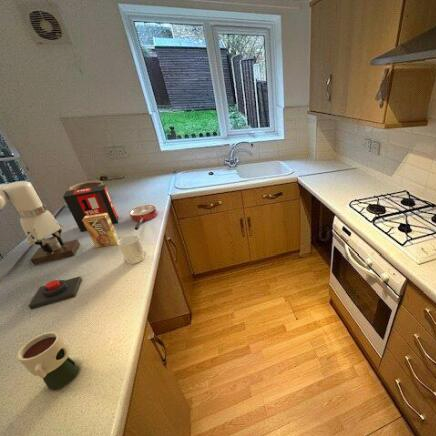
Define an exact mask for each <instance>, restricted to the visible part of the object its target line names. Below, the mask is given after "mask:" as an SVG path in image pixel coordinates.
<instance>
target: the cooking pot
mask: <svg viewBox="0 0 436 436" xmlns="http://www.w3.org/2000/svg"><path fill="white" fill-rule="evenodd" d="M103 183H104V182H103V181H102V180H90V181H84V182H79V183H76V184H74V185H71V186H69V188H68V191H71V190H77V189H83V188H89V187H95V186H101V185H104V184H103ZM106 189H107V187H106ZM107 192H108V193H109V191H108V189H107Z"/></svg>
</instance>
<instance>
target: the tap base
mask: <svg viewBox="0 0 436 436" xmlns="http://www.w3.org/2000/svg"><path fill="white" fill-rule="evenodd" d="M63 244H64V245H61V248H60V249H59V250H56V251H53V252H45V251H43V249H42V248H41V246H40V247H38V248H37V249H36V251H35V252H34V254H33V255H32V256H31V258H29V261H30V262H31V264H32V265H33V266H37V265H41V264H46V263H49V262H54V261H58V260H62V259H67V258H70V257H74V256H75V255H76V254H77V252H78V250H79V248H80V246H81V243H80V242H79V240H78V239H73V240H69V241H68V240H67V241H63Z"/></svg>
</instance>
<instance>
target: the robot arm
mask: <svg viewBox="0 0 436 436" xmlns="http://www.w3.org/2000/svg"><path fill="white" fill-rule="evenodd" d="M8 202H11V203H12V205H13V206H14V208H15V209H16V211H17V212H18V214H19V216H20V218H19V222H20V223H19V224H20V225H21V228H22V230H23V232H24V234H25V236H26V237H27V241H26V245H36V246H40V247H41V248H42V249H43V251H45V252H52V250H51V248H50V246H49V245H48V244H46V242H45V239H46V238H48V237H50V236H51V237H53V236H55V237H56V238H57V240H58V242H59V243H60V245H64V244H63V242H64V241H63V239H62V238H61V237H62V233H63V232H62V231H63V229H64V225H63V224H60V223H59V222H58V220H57V219H56V218H55V217H54V215H53V214H52V213H51V212H50V211H49V210H48V209H46V208H47V207H48V205H47V204H46V203H43V202H42V200H41V198H40V197H39V195H38V192H36V190H35V188H34V186H33V184H32V183H31V182H30V181H26V180H20V181H14V182H10V183H1V184H0V210H2V209H3V208H4V207H5V206H6V204H7V203H8ZM34 239H35V240H34Z"/></svg>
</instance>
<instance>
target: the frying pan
mask: <svg viewBox="0 0 436 436" xmlns="http://www.w3.org/2000/svg"><path fill="white" fill-rule="evenodd" d="M129 215H130V219H131V220H132V221H133V222H136V225H135V227H134V230H135V231H139V229H140V227H141V225H142V223H143V222H147V221H151V220H153V219H154V218H156V217H157V215H158V212H157V209H156V207H155V205H148V204H147V205H140V206H137V207H135V208H132V209H131V210H130V211H129Z"/></svg>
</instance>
